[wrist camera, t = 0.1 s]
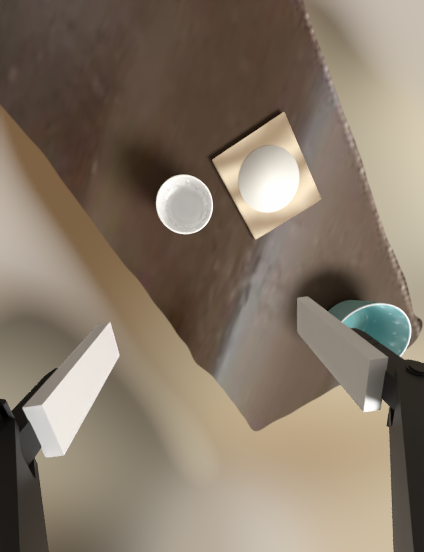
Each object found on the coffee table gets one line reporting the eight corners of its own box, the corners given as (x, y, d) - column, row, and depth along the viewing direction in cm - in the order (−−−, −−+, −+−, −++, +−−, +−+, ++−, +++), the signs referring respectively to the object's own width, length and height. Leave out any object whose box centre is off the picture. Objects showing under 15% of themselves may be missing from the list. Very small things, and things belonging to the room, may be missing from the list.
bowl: (328, 362, 51) (352, 390, 43) (295, 316, 47) (315, 337, 39) (387, 325, 49) (423, 346, 41) (357, 274, 45) (392, 286, 37)
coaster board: (211, 160, 37) (212, 159, 36) (282, 114, 36) (284, 111, 35) (254, 239, 41) (255, 239, 40) (318, 199, 40) (321, 199, 39)
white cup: (158, 214, 39) (145, 214, 30) (179, 175, 38) (173, 161, 28) (195, 237, 41) (194, 244, 31) (217, 200, 39) (223, 196, 30)
